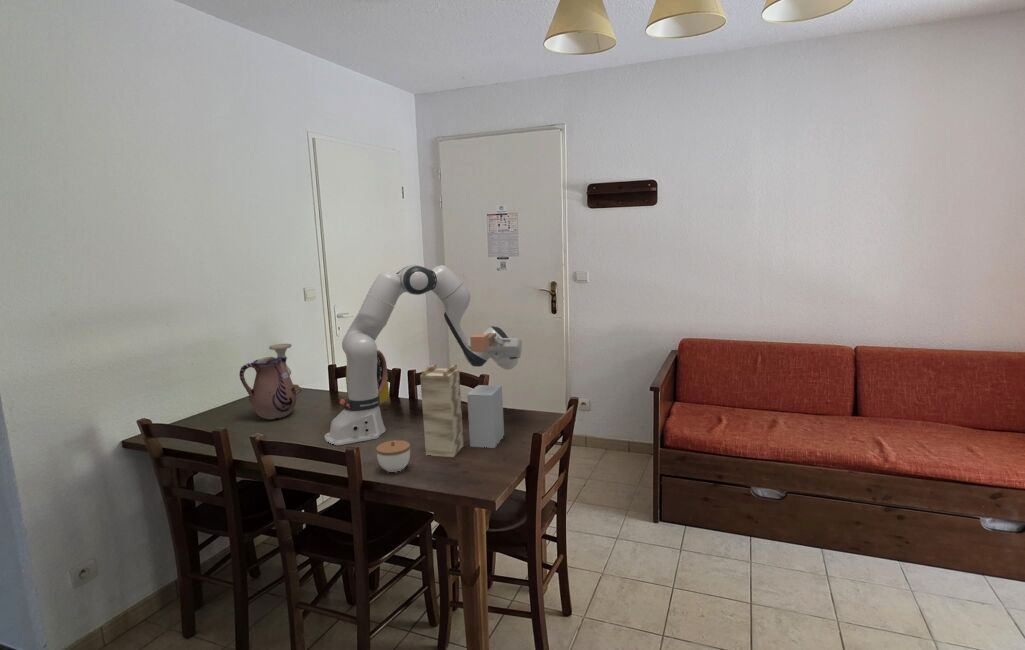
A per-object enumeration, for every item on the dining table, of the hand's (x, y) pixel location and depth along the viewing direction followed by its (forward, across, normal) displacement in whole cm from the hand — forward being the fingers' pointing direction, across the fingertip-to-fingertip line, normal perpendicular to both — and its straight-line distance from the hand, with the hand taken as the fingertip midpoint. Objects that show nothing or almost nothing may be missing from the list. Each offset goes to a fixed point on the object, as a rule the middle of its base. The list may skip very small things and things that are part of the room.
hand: (489, 338), depth 215 cm
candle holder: (-52, -118, +12) cm, 129 cm away
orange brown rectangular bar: (+3, 0, +4) cm, 5 cm away
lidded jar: (+14, -22, +50) cm, 56 cm away
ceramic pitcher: (-22, -100, +29) cm, 106 cm away
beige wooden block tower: (-1, -12, +41) cm, 43 cm away
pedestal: (-11, 0, +35) cm, 37 cm away
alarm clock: (-42, -66, +18) cm, 81 cm away
